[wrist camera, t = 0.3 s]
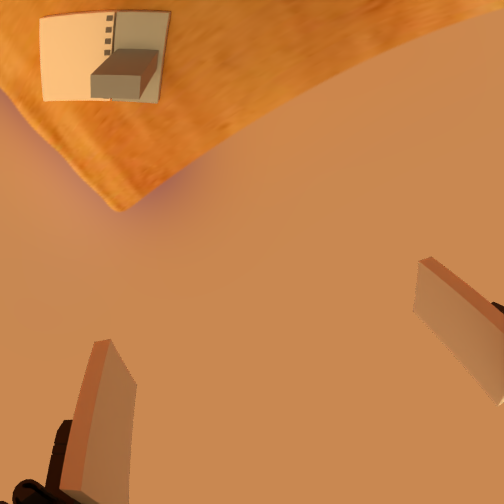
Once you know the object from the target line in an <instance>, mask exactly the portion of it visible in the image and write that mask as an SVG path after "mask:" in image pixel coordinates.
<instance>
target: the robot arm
mask: <svg viewBox="0 0 504 504" xmlns="http://www.w3.org/2000/svg"><path fill="white" fill-rule="evenodd" d="M413 312H414V313H415V314H416V315H417V316H418V317H419V318H420V319H421V320H422V321H423V322H424V323H425V324H426V325H427V327H428V328H429V329H430V330H431V331H432V332H433V333H434V334H435V335H436V336H437V337H438V339H439V340H440V341H441V342H442V343H443V344H444V345H445V346H446V347H447V348H448V350H449V351H450V352H451V353H452V354H453V355H454V356H455V357H456V359H457V360H458V361H459V362H460V363H461V364H462V365H463V366H464V368H465V369H466V370H467V371H468V372H469V373H470V375H471V376H472V377H473V378H474V379H475V380H476V382H477V383H478V384H479V385H480V386H481V388H482V389H483V390H484V391H485V392H486V394H487V395H488V396H489V397H490V398H491V400H492V401H493V402H494V403H495V404H496V406H497V407H498V406H499V405H500V404H502V403H503V402H504V306H502V305H500V304H497V303H495V302H492V303H490V302H489V301H487V300H486V299H485V298H484V297H483V296H481V295H480V294H479V293H478V292H476V291H475V290H474V289H473V288H471V287H470V286H469V285H468V284H467V283H465V282H464V281H463V280H461V279H460V278H459V277H457V276H456V275H455V274H454V273H452V272H451V271H450V270H449V269H447V268H446V267H445V266H443V265H442V264H441V263H439V262H438V261H437V260H435V259H434V258H433V257H429V258H427V259H423V260H420V261H419V263H418V274H417V283H416V292H415V300H414V308H413ZM136 388H137V384H136V382H135V381H134V379H133V378H132V376H131V374H130V373H129V371H128V369H127V367H126V366H125V364H124V362H123V360H122V359H121V357H120V355H119V353H118V351H117V350H116V348H115V346H114V344H113V342H112V340H111V339H108V340H103V341H98V342H94V345H93V349H92V352H91V355H90V359H89V362H88V365H87V369H86V372H85V375H84V379H83V383H82V386H81V390H80V394H79V397H78V401H77V405H76V409H75V413H74V417H73V420H64V421H63V423H62V424H61V426H60V427H59V429H58V430H57V434H56V438H55V442H54V443H55V446H53V450H52V454H53V455H51V460H50V464H49V469H48V474H47V479H46V485H45V487H43V486H42V485H41V484H39V483H38V482H36V481H34V480H32V479H26V480H24V481H22V482H20V483H19V484H18V485H17V486H16V487H15V489H14V491H13V497H12V501H13V504H129V503H128V502H129V474H130V455H131V440H132V428H133V416H134V406H135V396H136ZM0 504H8V503H6V502H4V501H0Z"/></svg>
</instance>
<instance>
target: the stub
mask: <svg viewBox="0 0 504 504" xmlns="http://www.w3.org/2000/svg"><path fill="white" fill-rule="evenodd" d="M170 15H171V11H152V10H120V11H118V12H117V18H116V29H115V41H114V53H113V54H112V55H110V56H109V57H108V58H107V59H106V60H105V61H104V62H103V63H102V64H101V65H100V66H99V67H98V68H97V69H96V70H95V71H94V72H93V73H92V74H91V75H90V86H91V98H112V101H128V102H145V103H158V101H159V99H160V89H161V80H162V71H163V63H164V55H165V48H166V41H167V34H168V27H169V21H170Z"/></svg>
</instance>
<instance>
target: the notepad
mask: <svg viewBox="0 0 504 504" xmlns="http://www.w3.org/2000/svg"><path fill="white" fill-rule="evenodd" d="M118 11H119V10H105V11H88V12H75V13H66V14H57V15H50V16H45V17H42V18H40V64H41V80H42V92H43V101H70V100H96V101H110V100H111V99H112V98H91V86H90V75H91V74H92V73H93V72H94V71H95V70H96V69H97V68H98V67H99V66H100V65H101V64H102V63H103V62H104V61H105V60H106V59H107V58H108V57H109V56H110V55H112V54H113V53H114V41H115V29H116V18H117V12H118Z"/></svg>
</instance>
